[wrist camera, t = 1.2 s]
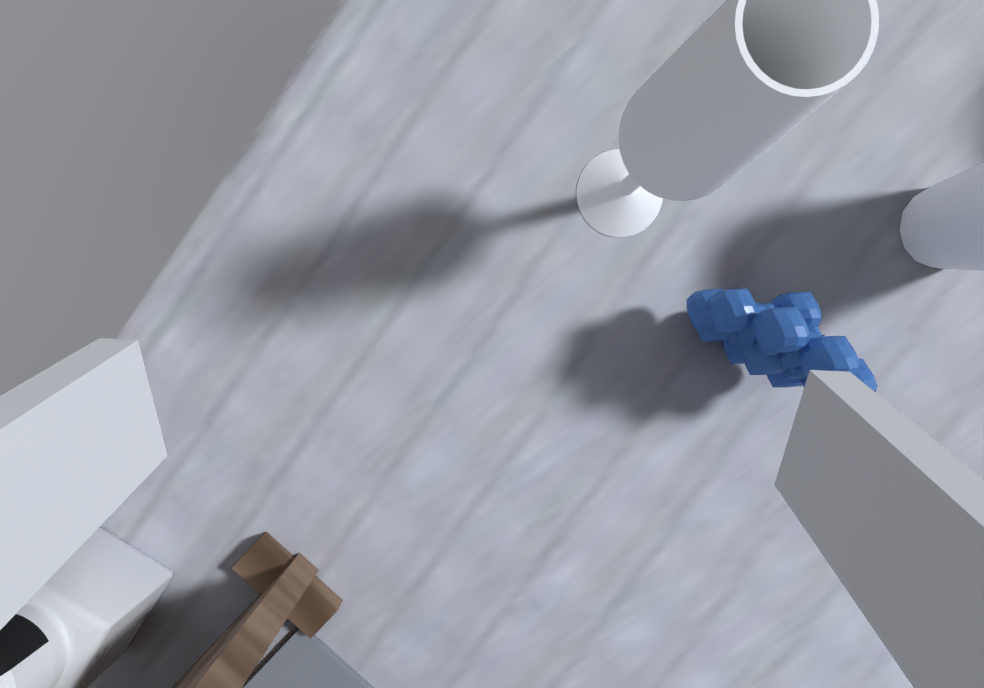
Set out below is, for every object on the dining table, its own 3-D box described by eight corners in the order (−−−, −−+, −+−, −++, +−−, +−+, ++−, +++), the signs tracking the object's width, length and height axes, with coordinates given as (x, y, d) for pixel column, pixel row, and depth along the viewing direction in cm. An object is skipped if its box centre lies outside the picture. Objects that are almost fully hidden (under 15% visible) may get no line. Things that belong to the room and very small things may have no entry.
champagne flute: (662, 147, 42) (909, -88, 18) (664, 236, 42) (910, 125, 18) (574, 150, 41) (701, -83, 17) (577, 239, 42) (705, 131, 18)
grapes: (824, 339, 42) (958, 347, 30) (772, 410, 43) (886, 445, 31) (704, 252, 42) (793, 225, 30) (653, 324, 42) (721, 326, 30)
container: (38, 601, 42) (-159, 726, 29) (91, 518, 42) (-85, 608, 29) (124, 653, 43) (-32, 800, 30) (177, 571, 42) (42, 683, 29)
